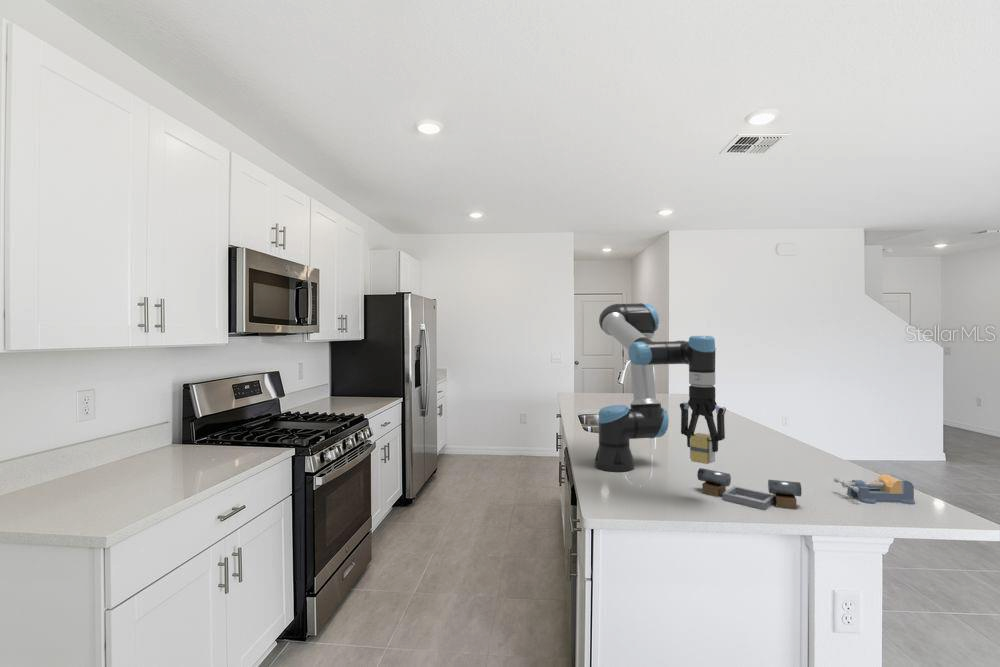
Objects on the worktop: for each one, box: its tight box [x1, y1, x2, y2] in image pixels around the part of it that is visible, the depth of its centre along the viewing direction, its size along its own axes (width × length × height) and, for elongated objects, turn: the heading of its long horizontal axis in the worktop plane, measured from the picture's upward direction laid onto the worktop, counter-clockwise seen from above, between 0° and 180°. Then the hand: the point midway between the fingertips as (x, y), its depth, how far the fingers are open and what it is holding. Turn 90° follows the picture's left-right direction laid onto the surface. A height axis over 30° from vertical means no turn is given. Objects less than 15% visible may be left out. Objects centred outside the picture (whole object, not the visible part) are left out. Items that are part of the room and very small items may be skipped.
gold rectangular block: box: [689, 432, 711, 465], centre depth 144 cm, size 5×5×8 cm
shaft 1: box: [696, 467, 732, 498], centre depth 150 cm, size 9×6×7 cm, turn 43°
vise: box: [833, 473, 916, 505], centre depth 143 cm, size 18×10×7 cm, turn 85°
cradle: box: [722, 485, 775, 511], centre depth 142 cm, size 12×10×2 cm
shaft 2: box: [767, 479, 802, 510], centre depth 139 cm, size 8×6×7 cm
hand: (702, 459), depth 144 cm, fingers closed on gold rectangular block, 5 cm apart
